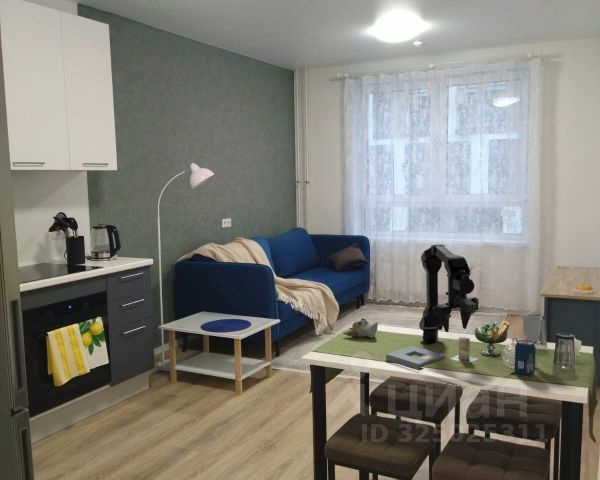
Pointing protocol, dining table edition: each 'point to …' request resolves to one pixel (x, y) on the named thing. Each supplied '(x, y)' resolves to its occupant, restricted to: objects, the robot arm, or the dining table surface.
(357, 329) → the ceramic sculpture
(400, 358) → the hole plate
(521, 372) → the soda can
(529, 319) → the chalice
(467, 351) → the peg
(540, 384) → the dining table surface
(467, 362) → the plate
